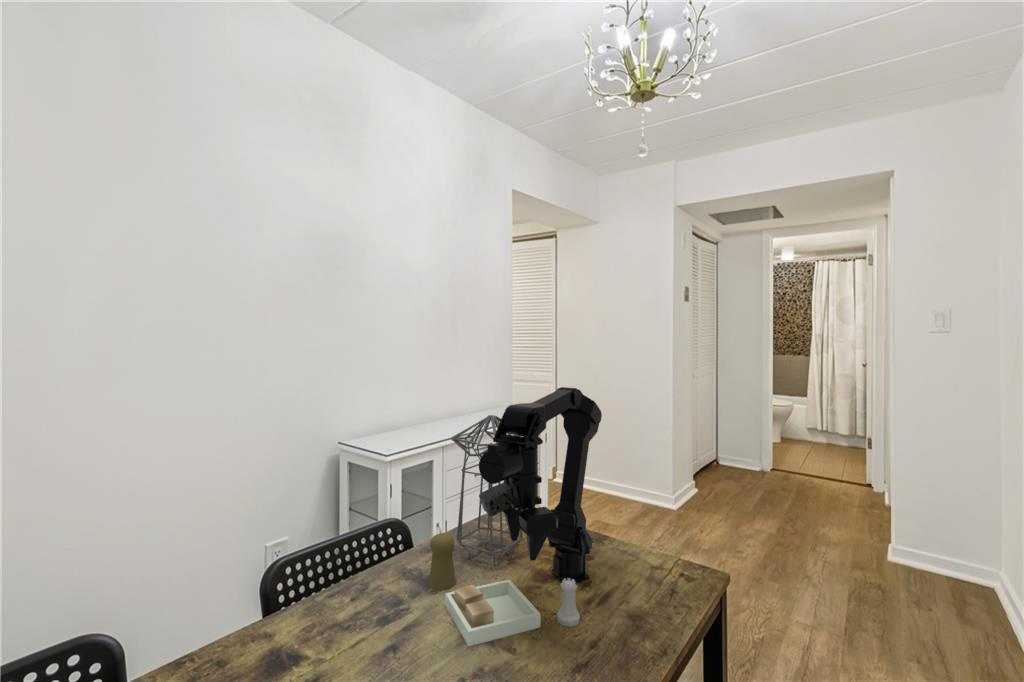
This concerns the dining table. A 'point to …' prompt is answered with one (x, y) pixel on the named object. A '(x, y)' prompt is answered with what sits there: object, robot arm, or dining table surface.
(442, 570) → the cork
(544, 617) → the dining table surface
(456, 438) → the geometric lantern
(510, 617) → the tray
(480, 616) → the beech block
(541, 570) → the dining table surface
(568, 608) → the rook chess piece
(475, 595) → the beech block
